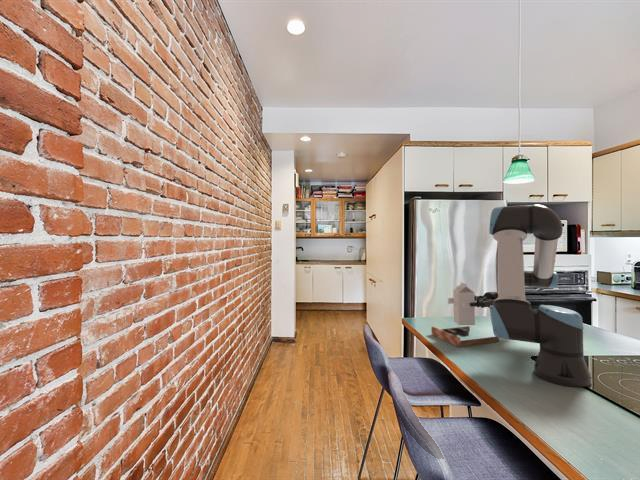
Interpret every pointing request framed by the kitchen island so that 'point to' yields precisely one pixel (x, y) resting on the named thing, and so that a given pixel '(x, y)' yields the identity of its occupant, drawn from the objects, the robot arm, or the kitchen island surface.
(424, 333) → the kitchen island surface
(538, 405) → the kitchen island surface
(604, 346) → the kitchen island surface
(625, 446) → the kitchen island surface
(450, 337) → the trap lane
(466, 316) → the milk carton
